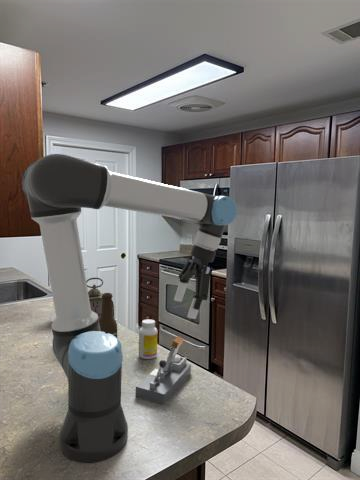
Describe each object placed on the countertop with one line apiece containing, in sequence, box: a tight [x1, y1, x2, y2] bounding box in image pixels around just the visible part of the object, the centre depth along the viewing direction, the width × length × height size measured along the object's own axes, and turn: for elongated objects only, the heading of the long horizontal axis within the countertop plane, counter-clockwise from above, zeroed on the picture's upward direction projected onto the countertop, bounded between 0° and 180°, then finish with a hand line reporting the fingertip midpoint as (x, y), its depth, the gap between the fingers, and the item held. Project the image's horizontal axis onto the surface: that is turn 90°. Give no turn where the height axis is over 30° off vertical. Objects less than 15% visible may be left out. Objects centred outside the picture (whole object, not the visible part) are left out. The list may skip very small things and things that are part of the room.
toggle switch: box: [154, 359, 166, 385], centre depth 97 cm, size 2×2×8 cm
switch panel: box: [135, 356, 192, 406], centre depth 104 cm, size 9×20×5 cm, turn 157°
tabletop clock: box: [86, 277, 115, 319], centre depth 137 cm, size 14×9×25 cm, turn 114°
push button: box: [173, 354, 182, 363], centre depth 110 cm, size 4×4×2 cm
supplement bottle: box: [138, 318, 159, 360], centre depth 123 cm, size 7×7×13 cm
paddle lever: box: [162, 336, 184, 375], centre depth 103 cm, size 2×4×12 cm, turn 157°
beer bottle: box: [99, 292, 118, 339], centre depth 116 cm, size 8×8×24 cm
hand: (184, 309), depth 110 cm, fingers open, 13 cm apart
